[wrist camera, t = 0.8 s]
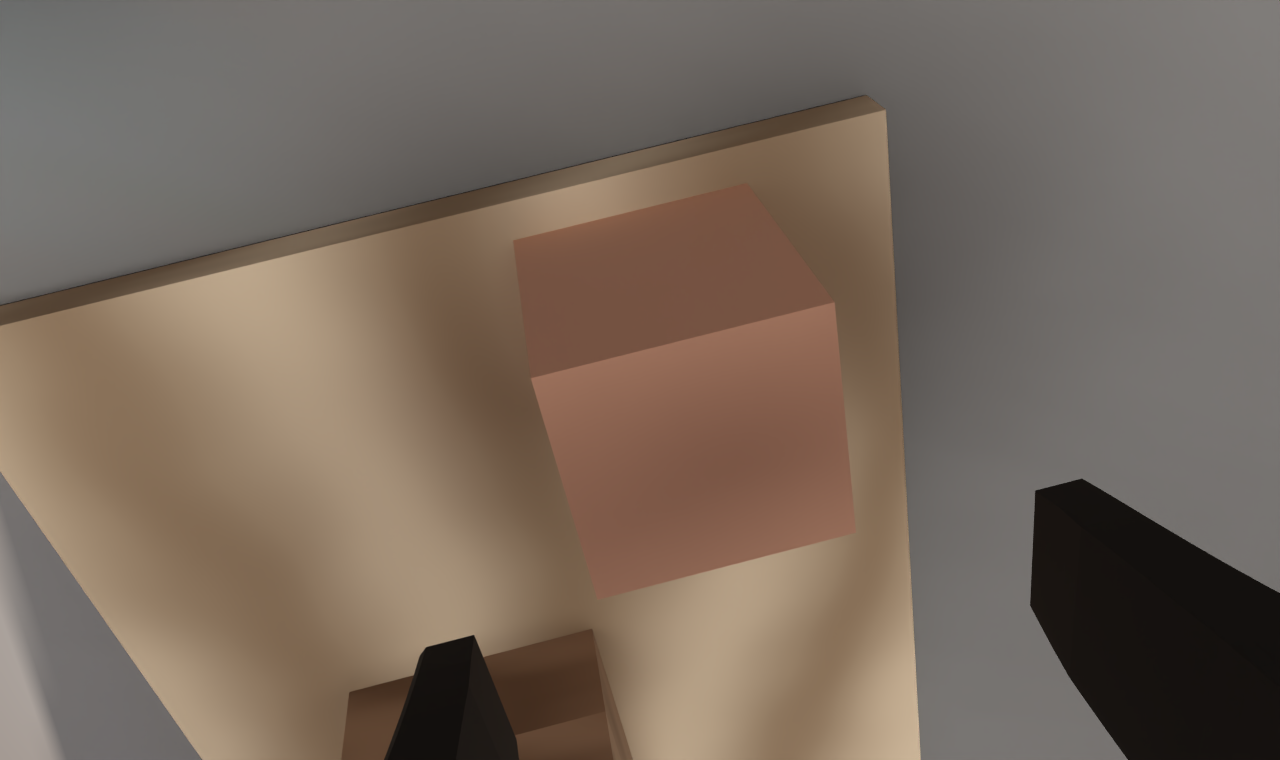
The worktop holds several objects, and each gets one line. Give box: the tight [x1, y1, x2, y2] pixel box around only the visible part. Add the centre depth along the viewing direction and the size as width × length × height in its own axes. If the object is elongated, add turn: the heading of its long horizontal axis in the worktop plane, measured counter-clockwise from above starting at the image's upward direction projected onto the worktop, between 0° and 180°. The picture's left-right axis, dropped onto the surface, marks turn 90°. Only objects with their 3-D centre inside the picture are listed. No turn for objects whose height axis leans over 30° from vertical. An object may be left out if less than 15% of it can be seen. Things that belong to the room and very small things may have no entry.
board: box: [0, 95, 921, 760], centre depth 24 cm, size 18×22×1 cm
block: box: [513, 183, 856, 600], centre depth 17 cm, size 4×4×5 cm
